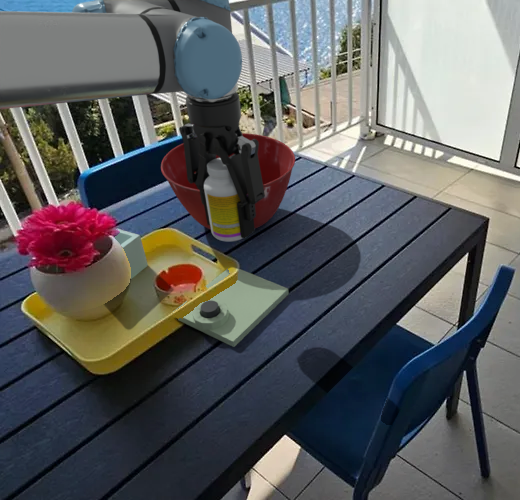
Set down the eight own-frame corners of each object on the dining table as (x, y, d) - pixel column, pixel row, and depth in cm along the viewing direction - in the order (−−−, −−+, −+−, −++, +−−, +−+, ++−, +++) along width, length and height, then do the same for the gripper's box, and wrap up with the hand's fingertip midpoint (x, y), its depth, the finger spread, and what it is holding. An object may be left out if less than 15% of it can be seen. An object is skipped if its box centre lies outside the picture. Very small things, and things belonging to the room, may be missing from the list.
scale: (232, 349, 84) (230, 336, 82) (171, 319, 90) (168, 307, 88) (288, 294, 96) (287, 282, 94) (232, 270, 101) (230, 259, 99)
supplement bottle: (256, 238, 84) (248, 169, 77) (216, 247, 82) (204, 176, 74) (245, 218, 89) (237, 152, 81) (208, 226, 87) (196, 158, 79)
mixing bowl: (322, 213, 120) (321, 154, 111) (233, 271, 101) (223, 205, 92) (240, 178, 133) (234, 123, 124) (148, 223, 115) (132, 162, 106)
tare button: (211, 320, 86) (209, 314, 85) (198, 314, 87) (196, 308, 86) (222, 310, 88) (221, 304, 87) (210, 304, 89) (208, 298, 88)
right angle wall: (102, 251, 106) (92, 221, 101) (148, 265, 102) (139, 235, 98) (55, 284, 97) (42, 253, 92) (104, 301, 93) (92, 269, 89)
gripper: (283, 98, 70) (291, 234, 84) (180, 75, 78) (202, 202, 91) (249, 115, 65) (263, 256, 78) (142, 88, 72) (172, 221, 86)
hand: (231, 227), depth 85 cm, fingers closed on supplement bottle, 7 cm apart
